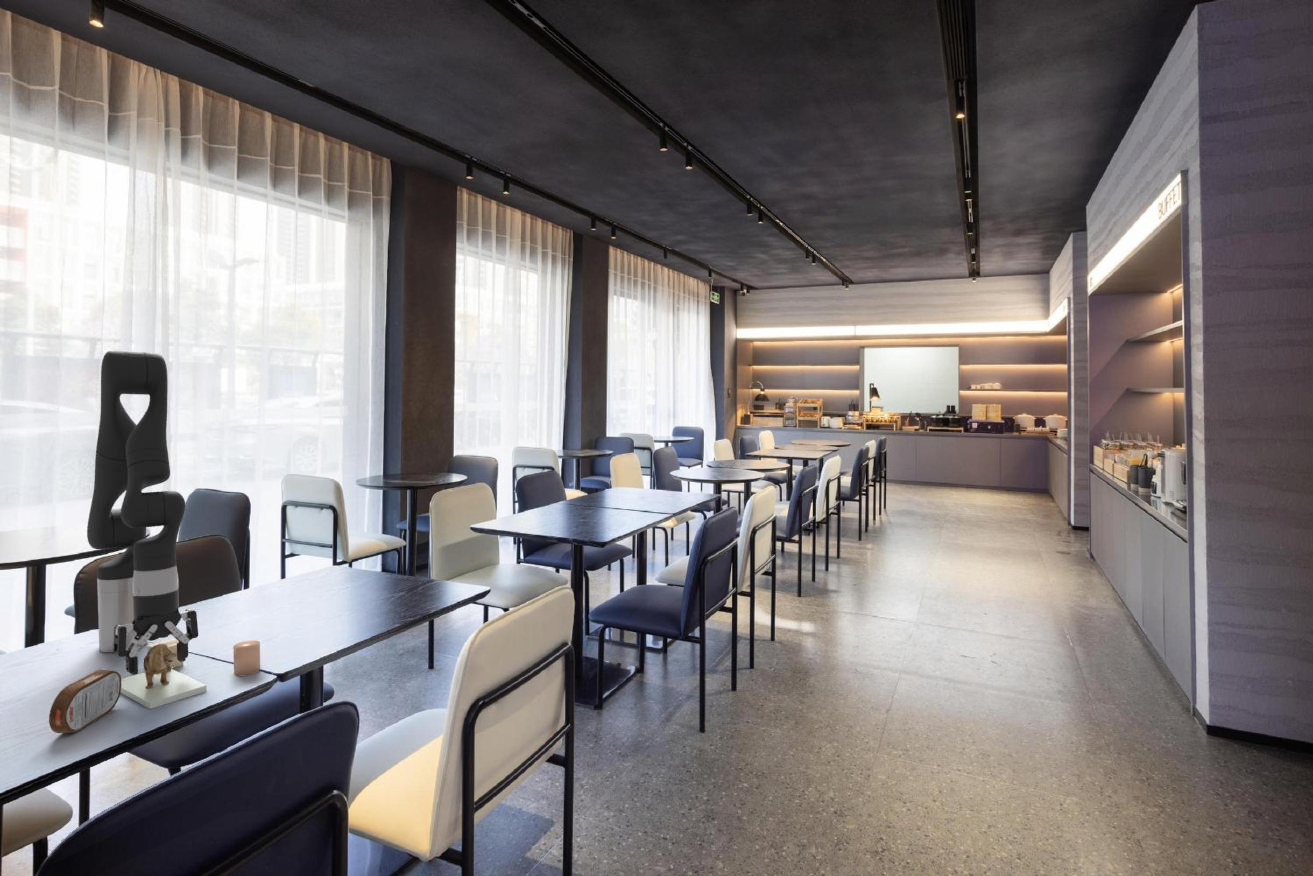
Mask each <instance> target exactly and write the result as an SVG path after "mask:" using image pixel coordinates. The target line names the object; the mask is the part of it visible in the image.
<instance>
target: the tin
mask: <svg viewBox="0 0 1313 876" xmlns="http://www.w3.org/2000/svg"><path fill="white" fill-rule="evenodd" d="M121 679H122V675H121V674H120V673H119V672H118V671H116V670H113V669H112V670H111V669H109V670H108V669H102V668H101V669H96V670H95V671H93V672H91V673H89V674H87V675H86V676H83V677H82V678H79V679H78V680H76V681H74V682H72V683H70V684H68V685H66V686H65V687H64V688H62V689H61V691H59V693H58V694H57V695H56V697H55V698H54V700H53V702H52V704H51V707H50V710H49V713H48V714H49V715H48V723H49V727H50V729H51V731H52V732H53V733H56V734H74V733H77V732H79V731H82V730H83V729H84V728H86V727H88V726H90V725H91V724H93V723H94V722H96V721H98V720H100V719H101V718H102V717H104V716H106V715H108V714H109V713H111V711H112V710H113V709H114V708H115V706H116V705H117V703H118V702H119V699H120V697H121V694H122V693H121Z"/></svg>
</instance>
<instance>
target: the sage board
mask: <svg viewBox="0 0 1313 876" xmlns="http://www.w3.org/2000/svg"><path fill="white" fill-rule="evenodd" d="M145 672H146V671H144V672H141V673H138V674H136V675H130V676H126V677H123V678H121V694H123V695H124V696H126V697H128V698H129V699H131V700H133V701H135V702H137V703H139V704H141V705H142V706H144V707H146V708H148V709H149V710H151V709H154V708H157V707H161V706H164V705H167V704H171V703H173V702H176V701H179V700H182V699H187V698H189V697H193V696H196V695H199V694H202V693H204V692H207V686H208V685H207V684H205V683H202V682H200V681H199V680H197V679H194V678H191V677H190V676H187V675H186V674H183V673H181V672H179V671H177V670H175V669H174V668H171V670H170V671H167V674H166V679H167V681H169V683H168V684H166V685H162V684H161V682H160V679H161V673H160V674H155V675H154V677H153V678H152V681H153V687H152V688H150V689H146V688H145V687H146V686H147V680H146V675H145Z"/></svg>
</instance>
